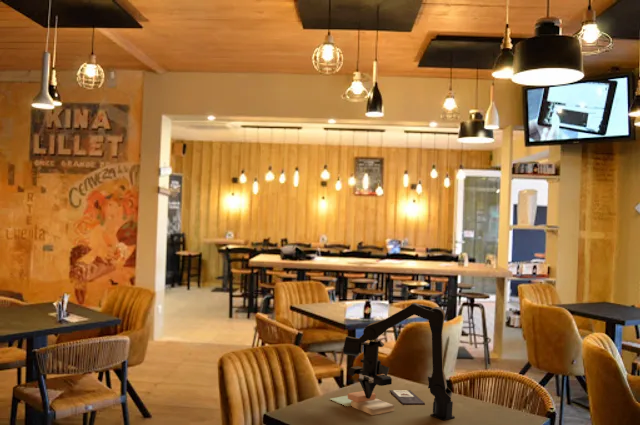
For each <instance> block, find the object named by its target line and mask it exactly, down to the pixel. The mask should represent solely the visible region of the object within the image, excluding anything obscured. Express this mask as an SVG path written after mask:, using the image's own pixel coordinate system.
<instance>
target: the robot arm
mask: <svg viewBox="0 0 640 425" xmlns="http://www.w3.org/2000/svg"><path fill="white" fill-rule="evenodd" d="M412 316H417V317H419V318H422V319H424V320H428V324H429V329H430V332H431V353H432V355H431V357H432V358H431V359H432V373H429V374H428V376H427V380H428V381H427V382H428V387H427V389H429V392H430V394H431V395H432V396H433V397H434V398H433V403H432V413H430V416H431V417H433V418H436V419H439V420H441V421H446V420H451V419H455V417H456V416H455V415H453V404H454V403H453V400H452V396H453V391H452V390H451V389H450V388H449V387H448V385H447V379H446V374H445V372H444V353H443V352H444V350H443V348H444V347H443V329H444V324H445V318H446V313H445V311H444V309H443V308H442V307H440V306H434V307H432V306H427V305H423V304H420V303H416V302H413V303H411V304H410V305H408V306H407V307H405V308H402V309H401V310H399V311H396V313H394V314H392V315H390V316H388V317H387V318H384V319H382V320H378V321H374V322H372V323H369V324H368V325H367V326H365V327H364V329H363V333H362V335H361V336H359V337H353V336H349V335H348V336H346V337H345V341H344V343H343V349H342V350H343V351H342V352H343V355H347V356H354V357H355V356H357V357H358V356H360V354H362V353H363V354H362V358H361V359H360V363H362V366H358V365H357V366H351V367H349V369H348V372H347V375H349V376H351V377H354V376H356V375H358V376H359V377H358V378H357V380H358V381H359V384H360V385H361V388H362V391H364V393H365V395H366V398H367V399H370V397H371V395H372V393H374V392H373V391H374V389H375V387H376V386H380V387H383V386H389V385H392V382H393V380H392V377H391V376H389V375H388V374H389V370H390V367H389V366H386V365H383V364H382V362H381V360H380V359H379V348H383V347H384V346H385V344H384V342H382V339H378V338H379V337H380V336H381V335H382V334H384V333H385V332H386V331H387V330H389V329H390V328H392V327H394V326H396V325H398V324H399V323H401V322H403V321H405V320H407V319H409V318H411V317H412ZM377 339H378V340H377ZM375 340H376V341H375ZM367 341H369V342H367Z"/></svg>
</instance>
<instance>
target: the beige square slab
mask: <svg viewBox="0 0 640 425" xmlns="http://www.w3.org/2000/svg"><path fill="white" fill-rule="evenodd" d="M351 406H352V408H354V409H356V410H358V411H361V412H364V413H367V414H368V415H371V416H374V415H375V416H376V415H380V414H386V413H389V412H390V413H391V412H394V411H395V404H392V403H389V402H386V401H383V400H381V399H379V398H376V399H373V400H368V401H362V402H356V401H351ZM351 406H350V407H351Z"/></svg>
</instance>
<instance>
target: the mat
mask: <svg viewBox="0 0 640 425" xmlns="http://www.w3.org/2000/svg"><path fill="white" fill-rule="evenodd" d="M331 400H332V401H331ZM329 401H331V402H333V403H337V404H339V405H341V404H342V406H343V405H344V407H346V406H347V407H351V401H353V400H350V399H348V395H343V396H337V397H331V398H329Z"/></svg>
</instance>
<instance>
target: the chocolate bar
mask: <svg viewBox="0 0 640 425" xmlns="http://www.w3.org/2000/svg"><path fill="white" fill-rule="evenodd" d="M389 391H390V392H391V393H392V394H391V393H390V392H389V393H390V394H391V395H393V397H394V398H396V400H398V401H399V402H400V404H401V405H405V406H407V405H410V406H411V405H412V406H414V405H419V406H420V405H421V406H422V405H425V404H426V403H425V402H424V401H423V399H421V398H420V397H418V396H417V395H416V394H415V393H414V392H413V391H412V390H411V389H410V390H408V389H407V390H402V389H398V390H397V389H396V390H395V389H390V390H389Z"/></svg>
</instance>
